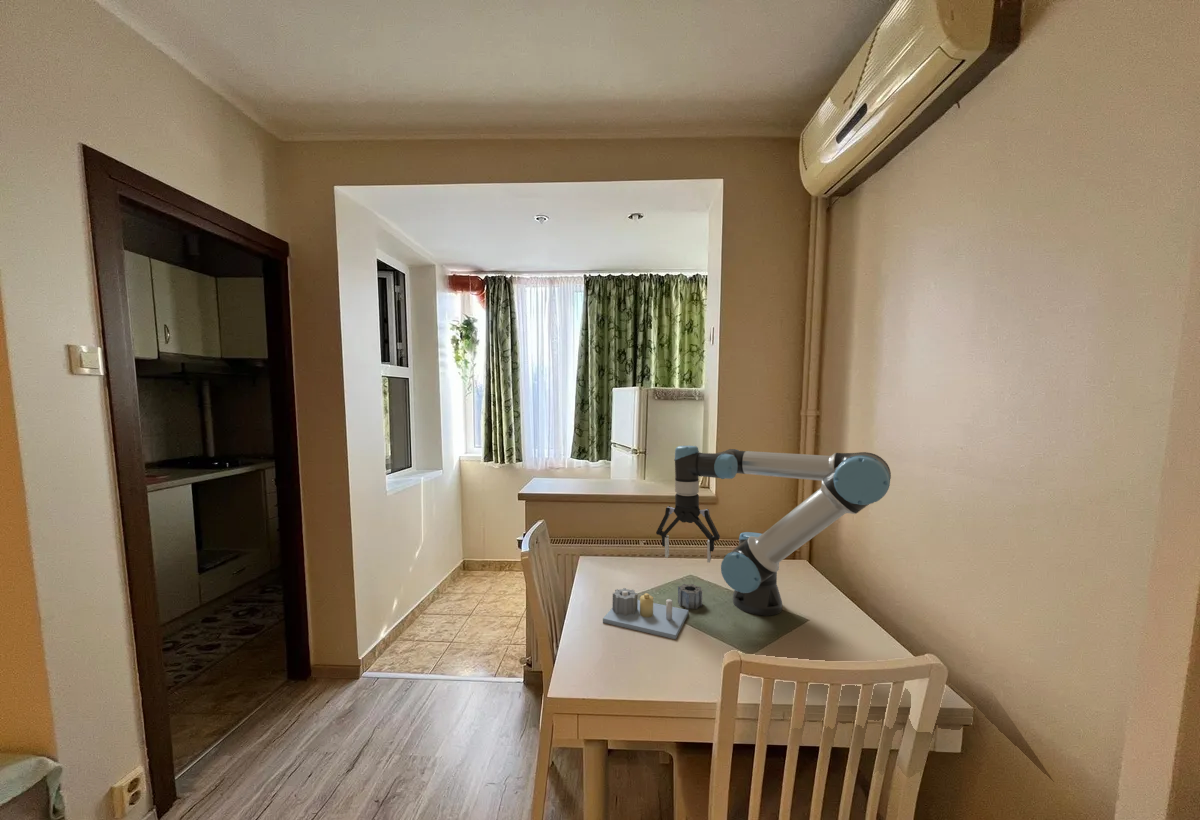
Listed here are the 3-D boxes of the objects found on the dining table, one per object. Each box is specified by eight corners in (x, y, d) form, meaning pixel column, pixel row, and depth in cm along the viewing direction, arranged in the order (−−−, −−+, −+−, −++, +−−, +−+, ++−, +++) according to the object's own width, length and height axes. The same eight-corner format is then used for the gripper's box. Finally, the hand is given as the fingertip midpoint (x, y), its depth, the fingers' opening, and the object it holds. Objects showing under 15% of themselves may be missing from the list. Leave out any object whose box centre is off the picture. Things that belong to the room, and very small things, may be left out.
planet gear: (699, 598, 146) (699, 583, 146) (703, 609, 138) (704, 593, 138) (676, 598, 146) (676, 583, 146) (680, 608, 139) (680, 593, 139)
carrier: (688, 613, 135) (688, 590, 135) (675, 639, 121) (675, 613, 121) (622, 600, 144) (622, 578, 144) (602, 622, 130) (603, 598, 130)
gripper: (727, 493, 141) (728, 559, 141) (652, 489, 150) (653, 550, 150) (725, 498, 134) (726, 567, 134) (646, 493, 143) (647, 558, 143)
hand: (687, 558), depth 142 cm, fingers open, 13 cm apart
